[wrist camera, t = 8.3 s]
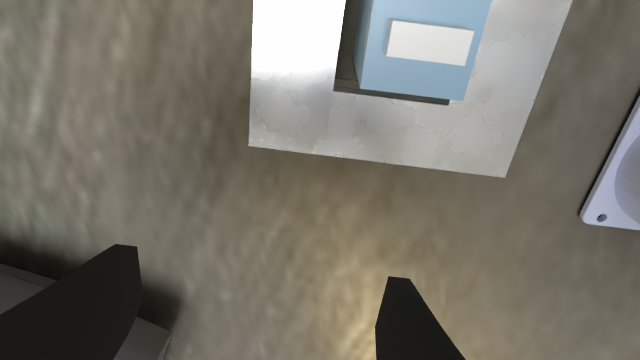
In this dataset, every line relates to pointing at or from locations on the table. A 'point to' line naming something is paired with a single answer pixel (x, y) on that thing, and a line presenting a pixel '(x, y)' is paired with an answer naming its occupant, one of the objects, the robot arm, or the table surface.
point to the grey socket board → (395, 108)
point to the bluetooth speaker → (18, 285)
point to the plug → (418, 45)
